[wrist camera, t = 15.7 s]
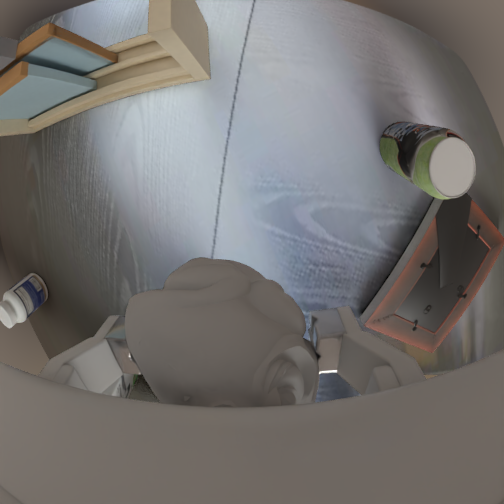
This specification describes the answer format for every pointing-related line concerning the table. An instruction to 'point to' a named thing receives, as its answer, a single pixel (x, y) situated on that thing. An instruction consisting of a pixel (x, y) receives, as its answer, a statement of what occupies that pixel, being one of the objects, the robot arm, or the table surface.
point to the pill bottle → (22, 300)
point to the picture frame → (436, 274)
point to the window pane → (55, 52)
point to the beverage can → (429, 158)
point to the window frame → (110, 71)
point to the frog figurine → (222, 339)
